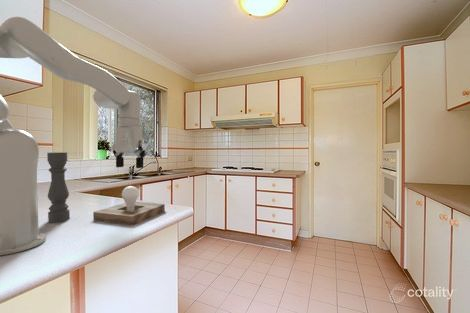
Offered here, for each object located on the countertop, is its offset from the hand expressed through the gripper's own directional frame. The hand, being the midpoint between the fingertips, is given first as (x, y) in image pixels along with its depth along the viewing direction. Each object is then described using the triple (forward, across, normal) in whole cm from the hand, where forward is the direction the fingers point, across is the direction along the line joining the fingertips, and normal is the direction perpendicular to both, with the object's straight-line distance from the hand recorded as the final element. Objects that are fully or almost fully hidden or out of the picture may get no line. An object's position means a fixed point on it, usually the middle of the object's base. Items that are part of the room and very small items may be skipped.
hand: (129, 167), depth 86 cm
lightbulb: (+19, 0, +1) cm, 19 cm away
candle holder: (+20, -21, -12) cm, 31 cm away
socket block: (+19, 0, +1) cm, 19 cm away
